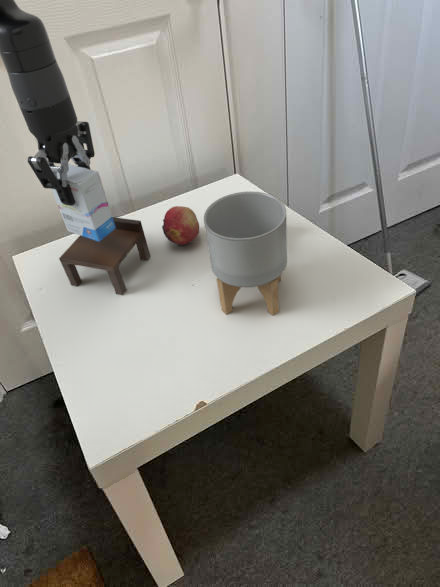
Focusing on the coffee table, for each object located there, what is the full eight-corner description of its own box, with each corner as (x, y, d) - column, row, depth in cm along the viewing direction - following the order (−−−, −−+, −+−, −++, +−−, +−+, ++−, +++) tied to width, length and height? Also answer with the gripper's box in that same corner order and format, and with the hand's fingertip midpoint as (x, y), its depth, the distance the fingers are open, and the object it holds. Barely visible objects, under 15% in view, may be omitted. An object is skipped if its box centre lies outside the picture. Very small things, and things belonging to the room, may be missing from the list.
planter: (302, 295, 82) (304, 212, 70) (247, 332, 77) (238, 250, 65) (255, 262, 90) (249, 182, 78) (203, 294, 86) (187, 214, 73)
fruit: (203, 249, 95) (198, 217, 90) (167, 256, 95) (159, 224, 89) (199, 228, 101) (194, 197, 95) (165, 234, 101) (157, 203, 95)
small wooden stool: (123, 295, 88) (110, 259, 82) (71, 285, 92) (55, 250, 85) (150, 256, 96) (140, 220, 89) (101, 248, 99) (89, 213, 93)
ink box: (118, 227, 85) (99, 169, 77) (99, 242, 82) (78, 184, 74) (85, 217, 89) (64, 160, 80) (66, 231, 86) (42, 174, 78)
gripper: (51, 78, 74) (83, 172, 86) (-9, 115, 65) (37, 215, 77) (89, 79, 72) (118, 175, 84) (34, 118, 63) (74, 220, 74)
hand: (79, 194), depth 80 cm, fingers closed on ink box, 5 cm apart
